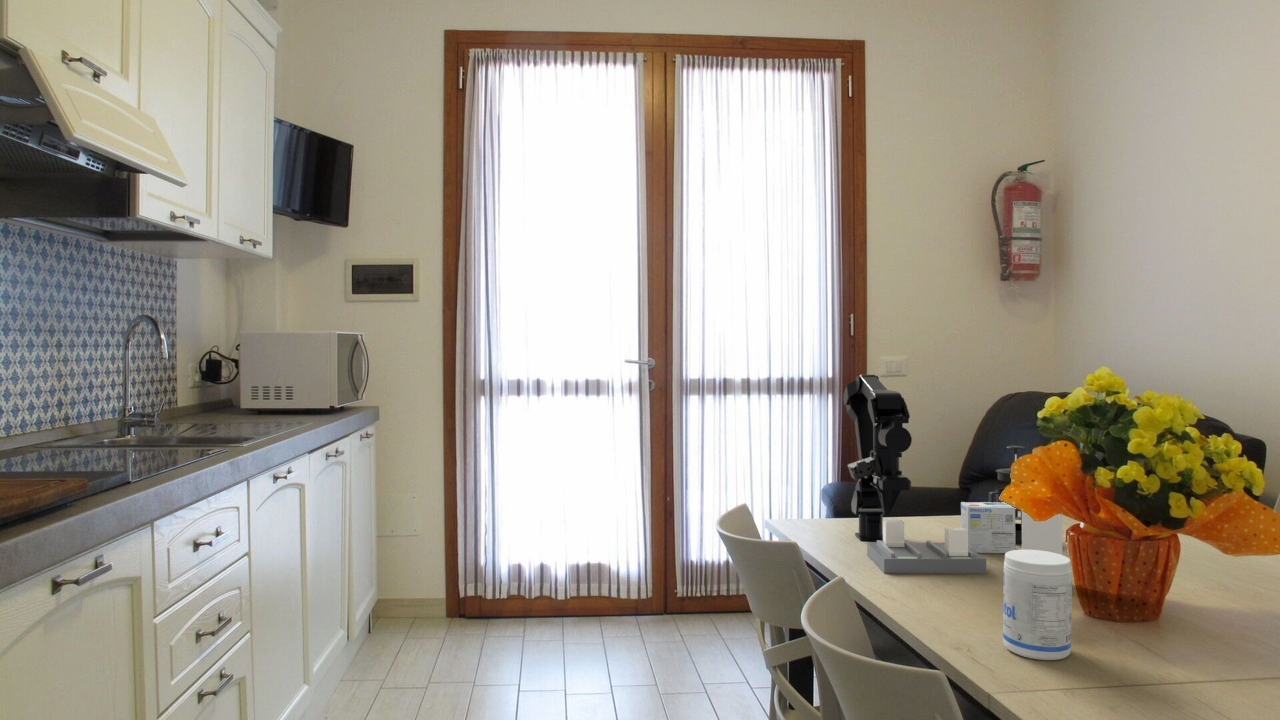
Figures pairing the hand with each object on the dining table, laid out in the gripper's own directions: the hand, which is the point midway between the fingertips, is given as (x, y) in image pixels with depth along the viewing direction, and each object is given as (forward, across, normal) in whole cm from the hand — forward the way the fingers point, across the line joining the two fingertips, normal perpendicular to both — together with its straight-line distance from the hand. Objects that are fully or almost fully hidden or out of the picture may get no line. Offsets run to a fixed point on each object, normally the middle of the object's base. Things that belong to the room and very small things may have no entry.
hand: (886, 515), depth 191 cm
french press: (+9, -13, +34) cm, 37 cm away
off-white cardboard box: (+9, +25, +24) cm, 36 cm away
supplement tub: (+8, +62, +7) cm, 63 cm away
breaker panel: (+9, +10, +6) cm, 14 cm away
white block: (+6, +6, 0) cm, 8 cm away
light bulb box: (+9, -3, +24) cm, 26 cm away
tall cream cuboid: (+6, +14, +11) cm, 19 cm away
